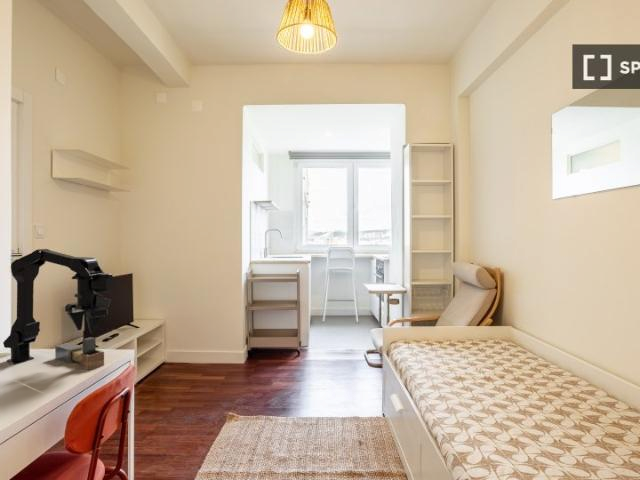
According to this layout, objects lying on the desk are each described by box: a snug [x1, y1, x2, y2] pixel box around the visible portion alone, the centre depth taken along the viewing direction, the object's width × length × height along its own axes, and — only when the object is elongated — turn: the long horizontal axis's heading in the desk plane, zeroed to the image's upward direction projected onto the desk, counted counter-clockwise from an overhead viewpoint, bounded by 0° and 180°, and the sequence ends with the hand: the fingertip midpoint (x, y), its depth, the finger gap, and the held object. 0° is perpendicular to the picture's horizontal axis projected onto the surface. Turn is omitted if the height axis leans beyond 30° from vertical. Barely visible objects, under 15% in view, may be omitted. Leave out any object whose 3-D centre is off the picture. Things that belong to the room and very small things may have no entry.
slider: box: [71, 336, 97, 363], centre depth 138 cm, size 15×3×9 cm, turn 61°
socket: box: [79, 349, 105, 371], centre depth 135 cm, size 6×5×5 cm
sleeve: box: [54, 342, 83, 364], centre depth 143 cm, size 10×5×5 cm, turn 61°
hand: (86, 331), depth 138 cm, fingers open, 9 cm apart
